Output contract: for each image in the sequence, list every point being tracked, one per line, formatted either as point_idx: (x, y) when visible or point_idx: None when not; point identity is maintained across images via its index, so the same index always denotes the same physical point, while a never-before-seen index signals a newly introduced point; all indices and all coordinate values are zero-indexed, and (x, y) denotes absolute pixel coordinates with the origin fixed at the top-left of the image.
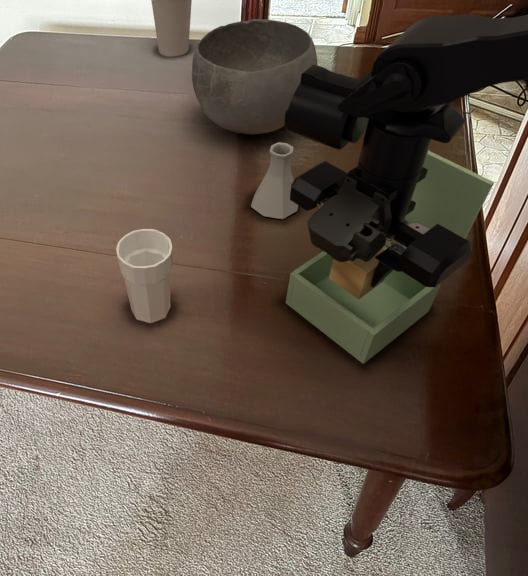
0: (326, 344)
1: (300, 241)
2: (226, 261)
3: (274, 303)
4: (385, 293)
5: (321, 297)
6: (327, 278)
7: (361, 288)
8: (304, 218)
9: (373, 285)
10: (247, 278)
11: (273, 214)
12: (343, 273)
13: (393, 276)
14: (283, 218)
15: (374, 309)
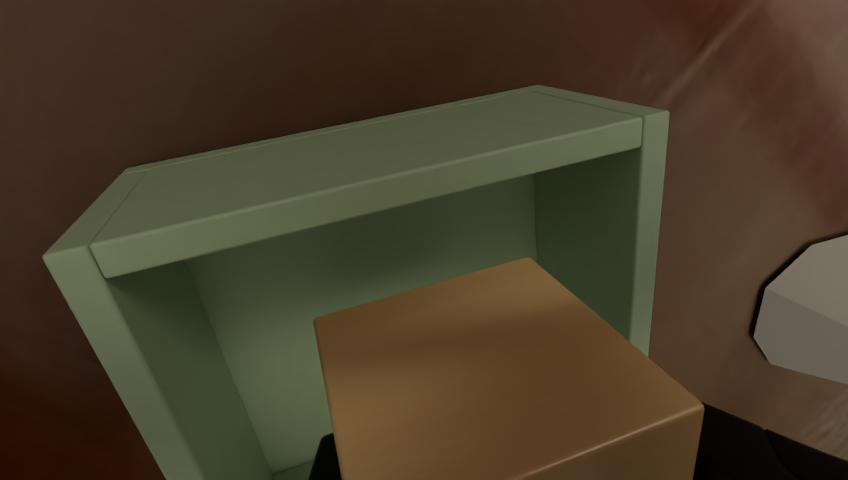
0: (289, 97)
1: (679, 288)
2: (797, 15)
3: (561, 44)
4: None
5: (456, 156)
6: None
7: (329, 382)
8: (721, 341)
9: (324, 451)
10: (701, 32)
11: (799, 272)
12: (501, 344)
13: None
14: (765, 290)
15: None
